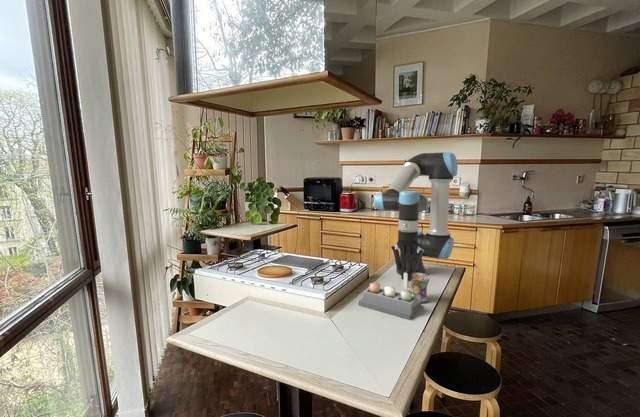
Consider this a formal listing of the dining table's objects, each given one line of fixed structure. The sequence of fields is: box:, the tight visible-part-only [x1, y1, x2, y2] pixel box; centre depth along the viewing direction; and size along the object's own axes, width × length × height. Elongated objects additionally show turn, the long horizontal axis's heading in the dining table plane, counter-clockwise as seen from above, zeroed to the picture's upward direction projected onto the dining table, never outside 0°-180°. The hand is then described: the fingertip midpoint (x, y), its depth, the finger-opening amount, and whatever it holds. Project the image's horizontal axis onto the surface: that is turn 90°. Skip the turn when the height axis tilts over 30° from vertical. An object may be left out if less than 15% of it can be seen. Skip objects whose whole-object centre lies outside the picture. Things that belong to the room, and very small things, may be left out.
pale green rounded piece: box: [400, 289, 412, 302], centre depth 124 cm, size 4×4×4 cm
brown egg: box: [369, 282, 381, 294], centre depth 133 cm, size 4×4×4 cm
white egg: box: [384, 285, 396, 298], centre depth 128 cm, size 4×4×4 cm
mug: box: [408, 273, 431, 303], centre depth 135 cm, size 12×9×11 cm
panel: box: [358, 286, 422, 321], centre depth 129 cm, size 14×22×5 cm, turn 54°
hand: (406, 287), depth 124 cm, fingers closed
